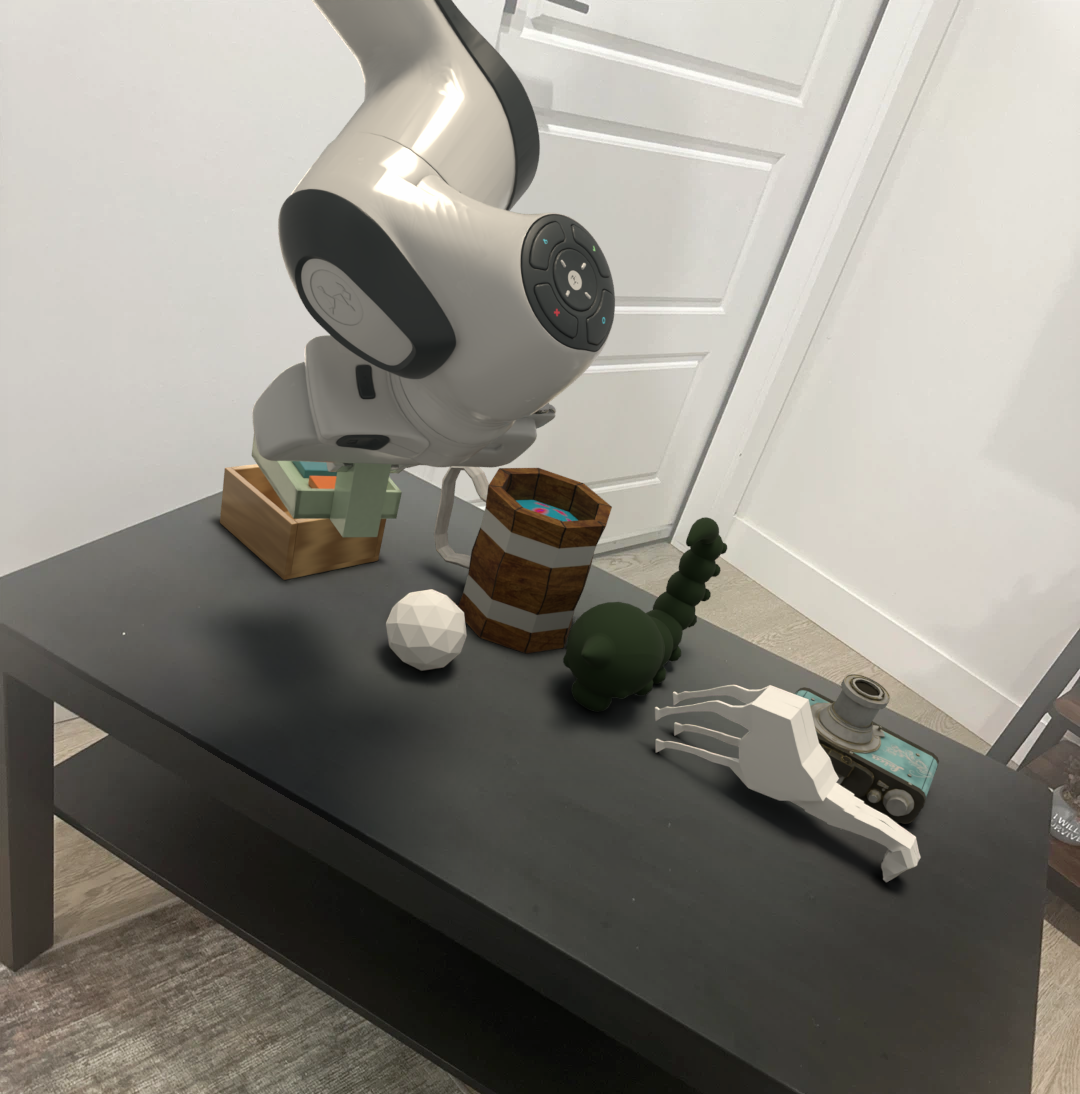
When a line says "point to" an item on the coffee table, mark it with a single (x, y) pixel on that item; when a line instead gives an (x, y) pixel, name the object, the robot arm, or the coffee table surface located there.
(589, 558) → the mug
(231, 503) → the holder
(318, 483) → the sachet orange
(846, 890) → the coffee table surface
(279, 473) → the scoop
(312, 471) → the block
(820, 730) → the camera
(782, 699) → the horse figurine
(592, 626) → the toy caterpillar
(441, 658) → the geometric ball
